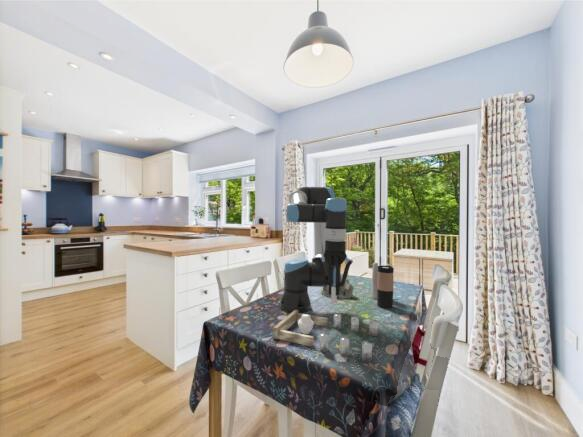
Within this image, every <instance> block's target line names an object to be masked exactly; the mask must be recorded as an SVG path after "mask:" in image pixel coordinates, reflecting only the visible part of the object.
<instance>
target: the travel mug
mask: <svg viewBox="0 0 583 437" xmlns="http://www.w3.org/2000/svg"><path fill="white" fill-rule="evenodd" d="M394 269H395V268H394V267H393V266H390V265H383V264H382V265H378V282H377V299H376V300H377V307H379V308H382V309H387V310H389V309H392V308H393V304H394V300H393V297H394V272H395V271H394Z"/></svg>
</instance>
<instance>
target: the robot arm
mask: <svg viewBox="0 0 583 437" xmlns="http://www.w3.org/2000/svg"><path fill="white" fill-rule="evenodd" d="M289 194H290V195H289V197H288V202H289V203H287V205H286V221H287V222H288V223H313V228H314V255H313V257H312V258H311V262H310V261H309V260H308V259H307V258H297V259H291V260H288V261H286V262H285V263H284V270H283V273H284V274H283V275H284V279H283V280H284V281H283V293H282V296H281V300H280V302H279V303H280V304H279V307H280V310H282V311H284V312H287V313H292V312H293V311H294V310H298V313H306V312H308V311H310V310H311V308H312V302H311V299H310V295H309V291H308V287H313V288H314V287H316V288H317V287H318V288H319V287H321V288H323V287H329V294H330V295H331V297H330V298H331V300H330V305H333V306H335V305H337V303H338V298H337V296H339V294H340V286H344V284H345V282H346V280H347V279H348V275H349V270H350V267H351V265H352V264H353V259H350V258H348V256H347V254H346V250H347V248H346V247H347V246H346V245H347V242H346V241H345V240H346V239H347V213H348V212H347V210H348V206H347V199H346V198H344V197H336V196H335V195H336V194H335V191H334V189H333V188H332V187H329V186H328V187H326V186H301V187H299V188H296V189H294V190H293V191H291V193H289ZM344 262H345V263H344ZM343 263H344V264H345V267H344V270H343V273H342V276H341V277H342V280H341V282H340V275H341V272H342V271H341V268H342V265H343Z"/></svg>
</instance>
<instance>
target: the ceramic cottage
mask: <svg viewBox="0 0 583 437" xmlns="http://www.w3.org/2000/svg"><path fill="white" fill-rule="evenodd" d="M342 277H343V276H342V274H340V282H341V280H342ZM354 289H355V288H354V286H353V285H352V284H351V282H350V280H349V278H346V282H345V284H344V286H340V294H339V296H337V297H339V298H338V299H344V298H347V299H350V298H349V297H352V296H353V297H354V294H353V292H354ZM321 294H322V295H321ZM320 295H321V296H323V295H324V296H323V297H325V296H328V297H327V298H331V295H330V294H329V287H322V290H321V291H320ZM353 297H352V298H353Z"/></svg>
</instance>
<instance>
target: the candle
mask: <svg viewBox="0 0 583 437" xmlns="http://www.w3.org/2000/svg"><path fill="white" fill-rule="evenodd" d="M378 266H379V263H378V262H373V263H372V269H371V270H372V272H371V273H372V275H371V276H372V277H371V280H372V281H371V298H372V297H373V298H372V299H374V298H375V299H374V300H377V282H378Z"/></svg>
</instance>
